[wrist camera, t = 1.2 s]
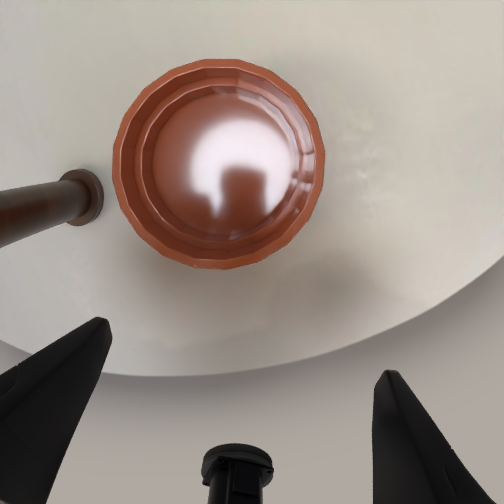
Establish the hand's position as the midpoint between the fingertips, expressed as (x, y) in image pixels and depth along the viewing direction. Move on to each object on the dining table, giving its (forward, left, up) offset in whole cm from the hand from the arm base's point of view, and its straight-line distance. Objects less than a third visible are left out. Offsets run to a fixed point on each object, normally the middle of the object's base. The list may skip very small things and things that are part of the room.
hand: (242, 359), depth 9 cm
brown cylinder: (-1, +14, -15) cm, 20 cm away
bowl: (+5, +4, -15) cm, 16 cm away
